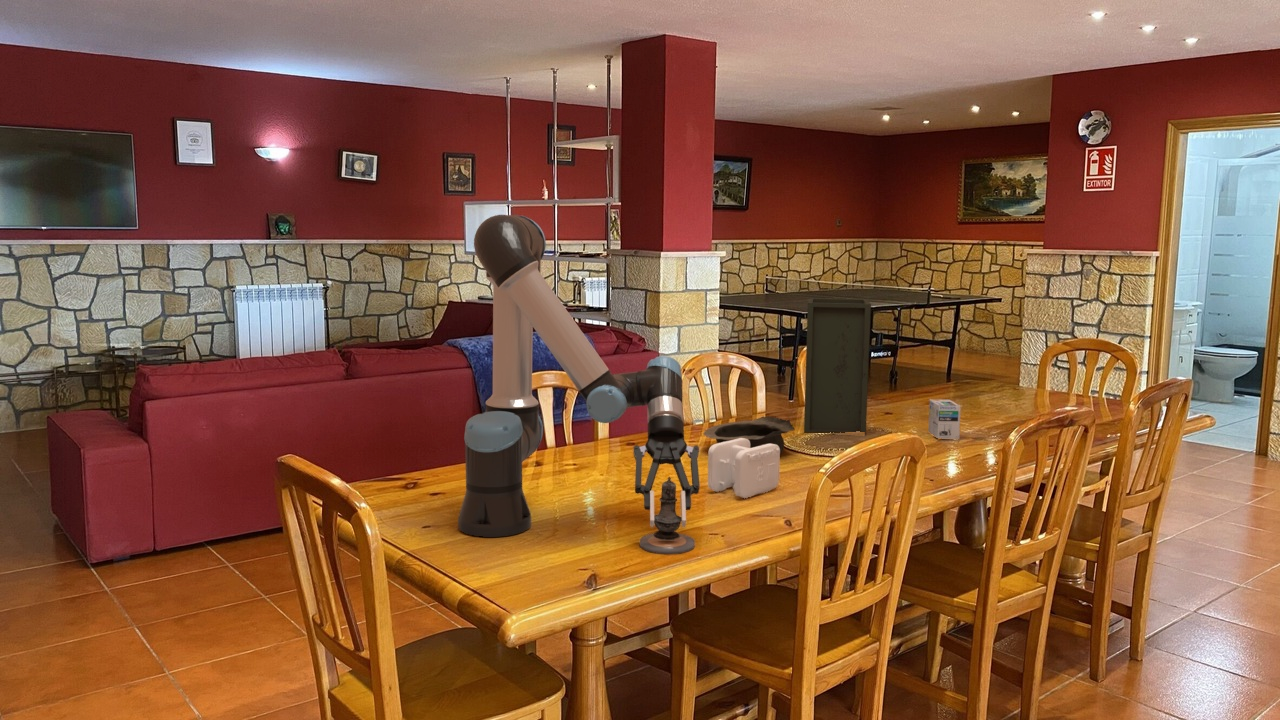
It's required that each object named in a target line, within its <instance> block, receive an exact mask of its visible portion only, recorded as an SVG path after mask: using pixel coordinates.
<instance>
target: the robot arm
mask: <svg viewBox="0 0 1280 720" xmlns="http://www.w3.org/2000/svg"><path fill="white" fill-rule="evenodd" d="M475 231H476V232H475V234H474V237H473V238H474V239H473V247H474V248H473V249H474V253H475V255H476V257H477V259H478V261H479V262H480V264H481V265H482V267H483V268H484V270H485V273H486V275H485V276H486V279H487V281H489V282H490V283H491V284H492V287H493V288H492V290H493V293H492V295H493V296H492V297H493V301H492V304H493V307H492V313H493V314H492V394H491V396H490V397H489V398H488V399H487V400H485V411H484V412H482V413H477V414H475V415H472V416H471V417H469V419H467V421H466V422H465V429H464V437H463V439H464V450H465V451H464V452H465V455H464V456H465V487H466V488H465V495H464V497H463V501H462V504H461V507H460V510H459V514H458V519H457V522H458V524H457V526H458V531H460V532H461V531H462V532H461V533H463V532H464V533H463V534H465V533H466V534H465V535H468V534H469V536H472V535H474V536H473V537H479V536H483V537H482V538H498V537H499V538H500V537H507V536H509V537H510V536H514V535H518V534H521V533H523V532H526V531H527V530H529V529H530V528H531V527H532V514H531V511H530V508H529V504H528V502H527V498H526V496H525V493H524V490H523V462H525V460H526V459H528V458H529V457H530V456H532V455H533V454H534V453H535V452H536V451H537V449H538V448H539V446H540V445H541V442H542V439H543V434H544V426H543V425H544V424H543V421H542V419H541V417H540V416H539V414H540V412H539V410H540V409H539V407H540V404H539V401H538V399H536V397H535V396H533V343H534V342H533V341H534V340H533V336H534V335H533V334H534V333H533V331H535V332H536V333H537V335H538V337H540V339H541V340H542V341H543V343H544V345H545V346H546V347H547V349H548V350H549V352H550V353H551V354H552V356H553V357H554V358H555V360H556V362H557V363H558V364H559V365H560V367H561V368H562V369H563V371H564V372H565V374H566V375H567V376H568V379H570V381H571V382H572V384H573V385H574V386H575V387H576V389H577V390H578V392H579V393H580V395H581V396H582V398H583V399H584V400H585V402H586V410H587V412H588V415H589V416H590V418H592V419H593V420H594V421H596V422H598V423H602V424H609V423H613V422H615V421H616V420H618V419H620V418H621V417H622V416H623V415H624V414H625V413H626V410H627V409H628V408H635V407H643V406H644V407H645V406H646V407H647V408H646V409H647V410H646V411H647V412H646V413H647V415H646V417H647V441H646V443H645V444H644V445H641V446H639V445H638V444H636V445H634V446H633V450H632V451H633V456H634V460H635V478H634V479H635V481H634V482H635V483H634V492H635V494H641V495H642V496H643V508H644V510H646V511H649V527H650V528H655V524H654V516H655V490H652V489H653V486H654V482H655V479H656V476H657V473H658V470H659V467H660V465H665V464H668V465H672V467H673V469H674V471H675V473H676V476H677V479H678V481H679V484H680V487H681V490H680V517H681V524H680V526H681V528H686V524H687V511H690V510H691V507H692V498H691V497H692V496H693V495H698V494H699V492H700V486H701V485H700V475H699V464H698V462H699V461H698V458H699V454H700V446H698V445H694V446H689V445H688V444H687V442H686V441H685V428H684V427H685V425H684V406H683V404H684V403H683V402H684V401H683V400H684V399H683V378H682V376H683V375H682V366H681V364H680V363H679V361H677V360H676V359H675V358H673V357H671V356H668V355H667V356H665V355H664V356H663V355H661V356H656V357H655V358H652V359H650V360H649V361H648V363H647V365H646V369H644V370H638V371H630V372H622V373H614V374H612V372H611V371H610V370H609V369H610V368H608V366H607V364H606V363H605V362H604V360H603V359H602V357H600V355H599V353H598V352H597V351H596V349H595V348H594V346H593V345H592V344H591V342H590V341H589V339H588V338H587V337H586V335H585V333H584V332H583V331H582V330H581V328H580V326H579V325H578V324H577V323H576V321H575V319H573V317H572V315H571V314H570V313H569V311H568V310H567V309H566V307H565V305H563V302H562V301H561V300H560V299H559V297H558V296H557V294H556V293H555V291H554V290H553V289H552V288H551V286H550V285H549V283H548V281H546V279H545V277H544V276H543V274H542V273H541V268H542V267H541V265H542V264H541V261H542V259H543V257H544V255H545V253H546V246H547V244H546V237H545V234H544V231H543V230H542V228H541V226H540V225H539V224H538V223H537V222H535V221H534V220H532V219H531V218H529V217H527V216H526V215H525V216H524V215H519V214H495V215H493V216H489V217H488V218H487V219H485V220H484V221H482V222H481V223H480V225H479V226H478V228H477V229H476V230H475ZM646 453H647V454H648V455H649V456H650V457H651V459H652V462H651V464H650V468H649V470H648V471H649V472H648V474H647V477H646V480H645V484H642V473H643V471H642V470H643V458H644V457H645V454H646ZM685 453H687V457H688V458H689V459H690V473H691V474H690V475H691V484H692V485H691V484H690V481H689V480H688V476H687V474H686V470H685V469H684V466H683V462H682V459H681V458H682V457H683V455H684V454H685Z"/></svg>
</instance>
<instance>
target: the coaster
mask: <svg viewBox="0 0 1280 720" xmlns="http://www.w3.org/2000/svg"><path fill="white" fill-rule="evenodd" d="M654 533H655V532H653V533H648V534H645V535H644V536H642V537H640V539H639V548H640V549H642V550H644V551H646V552H647V553H653V554H657V555H678V554H684V553H688V552H690V551H692V550H694V549H695V546H696V541H695V539H694V538H693V537H691V536H689V535H687V534H683V533H680V532H679V533H678V532H677V533H678V534H679V535H680V537H679V538H678V539H674V540H663V539H658V538H656V537H654V535H653V534H654Z"/></svg>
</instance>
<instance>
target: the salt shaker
mask: <svg viewBox="0 0 1280 720" xmlns="http://www.w3.org/2000/svg"><path fill="white" fill-rule="evenodd" d="M676 493H677V484H676V483H675V482H674V481H672V478H671V476H668V478H667V479H666V480H665V481H664V482H663V483H662V485H661V497H659V501H660V507H659V513H658V514H654V528H656V529H657V531H655V532H653V533H654V534H653V533H652V534H653V535H654V537H656V538H658V539H663V540H674V539H678V538H679V537H680V535H679V534H680V533H679V534H678V532H677V530H678V529H679V528H680V526H681V515H677V512H676V506H677V505H676V504H677V502H678V499H677V497H676V495H677V494H676Z"/></svg>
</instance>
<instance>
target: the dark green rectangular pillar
mask: <svg viewBox="0 0 1280 720" xmlns="http://www.w3.org/2000/svg"><path fill="white" fill-rule="evenodd" d="M871 310H872V304H871V302H870V301H869V299H856V298H855V299H852V298H850V299H849V298H848V299H847V298H845V299H844V298H808V299H807V316H806V317H807V318H806V319H807V320H806V348H805V350H806V352H805V353H806V354H805V355H806V357H805V358H806V359H805V381H804V382H805V387H804V414H803V415H804V418H803V419H804V420H803V421H804V422H803V434H804V433H830V432H831V433H833V432H834V433H840V432H841V433H845V432H856V431H860V432H866V433H867V415H868V414H867V412H868V390H869V389H868V387H869V368H870V367H869V361H870V335H871V313H872V312H871Z"/></svg>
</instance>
